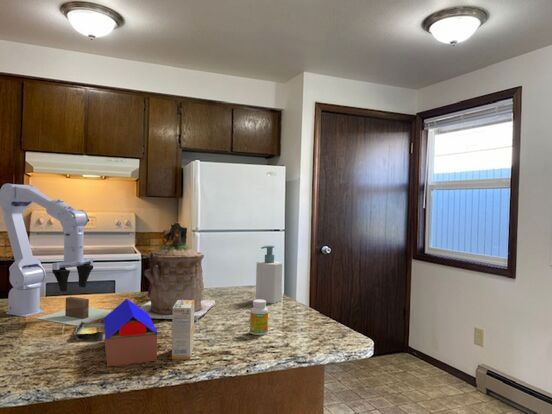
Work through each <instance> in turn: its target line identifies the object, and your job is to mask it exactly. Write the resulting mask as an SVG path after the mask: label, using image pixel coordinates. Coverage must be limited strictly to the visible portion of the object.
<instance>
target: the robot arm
mask: <svg viewBox="0 0 552 414" xmlns="http://www.w3.org/2000/svg"><path fill="white" fill-rule="evenodd" d="M64 201H65V200H63V199H61V198H60V199H59V198H58V199H57V198H56V199H52V198H50V197H49V196H47V195H46V194H45V193H43V192H41V191H40V190H39V188H38V187H36V186H34V185H33V184H15V183H14V184H13V183H4V184H2V186H1V188H0V206H1V210H2V211H1V212H2V217H3V220H4V225H5V228H6V232H7V236H8V240H9V242H10V247H11V251H12V255H13V258H14V262H13V263H12V264H11V265H10V266H9V268H8V270H9V283H10V284H11V286H12V288H11V289H10V290H9V292H8V298H7V299H8V303H7V304H8V305H7V308H8V311H6V312H5V314H6V315H13V316H18V317H23V318H25V317H26V318H27V317H30V316H34V315H38V314H42V313H46V311H47V310H45V309H41V305H40V304H41V303H40V302H41V286H42V285H43V283H44V282H45V280H46V277H47V273H46V270H45V268H44V267H43V265H42V263H41V260H39V259H38V258H36V257H35V256H34V255H33V251H32V248H31V244H30V240H29V236H28V233H27V229H26V225H25V222H24V218H23V217H24V216H23V212H24V211H26V210H27V208H29V207H30V205H31V204H32V203H34V204H36V205H38V206H40V207H42V208H44V209H45V211H46V213H47V215H49V216H50V217H52V218H54V219H56V221H59V222H60V223H59V224H60V225H61V227H62V232H63V236H64V237H63V260H62V261H61V260H60V261H57V262H53V263H52V265H51V270H52V271H51V272H52V273H53V275H54V277H55V278H56V281H57V285H58V288H59V292H63V293H64V292H67V290H68V280H69V277H70V276H69V275H70V274H71V270H70V269H67V268H74V267H76V270H77V276H78V287H79V288H86V287H87V286H86V285H87V283H88V282H87V281H88V279H89V276H90V274H91V272H92V271H93V269H94V265H93V264H94V258H91V257H87V258H84V240H85V239H84V237H85V236H84V232H85V230H84V229H85V226H87V224H88V221H89V216H88V213H87V212H86V211H84V209H76V208H75V207H74V206H73V205H69V204H67V203H65V202H64Z"/></svg>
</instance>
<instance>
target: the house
mask: <svg viewBox="0 0 552 414" xmlns="http://www.w3.org/2000/svg"><path fill="white" fill-rule="evenodd" d="M139 307H140V306H138V305H136V304H135V303H133V301H131V300H130V299H129V298H126V299H124V300H123V301H122V302H121V303H120V304H119V305H118V306H116V307H115V308H114V309H113V310H111V311H112V312H110V313H109V314H108V315H107V316H106V317H105V318H103V323H104V325H105V328H104V332H105V338H104V347H105V348H104V349H105V358H106V366H107V367H115V366H122V365H133V364H139V363H141V364H142V363H147V362H157V360H158V359H157V355H158V336H159V335H160V334H159V333H158V331H157V328H156V327H155V324H154V323H153V321H152V318H150V316H149V314H147V313H146V312H145V311H143V310H142V309H141V308H139Z"/></svg>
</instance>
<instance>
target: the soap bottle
mask: <svg viewBox="0 0 552 414" xmlns="http://www.w3.org/2000/svg"><path fill="white" fill-rule="evenodd" d="M260 248H261V249H266V254H264V260H261V261H257V262H256V267H255V268H256V269H255V270H256V271H255V277H256V278H255V300H257V299H261V300H266V304H277V303H280V302H282V293H283V291H282V290H283V289H282V287H283V286H282V285H283V283H282V282H283V262H281V261H277V260H275V254H273V253H274V252H273V248H274V249H275V246H274V245H263V246H262V247H260Z"/></svg>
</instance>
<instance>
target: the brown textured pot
mask: <svg viewBox="0 0 552 414" xmlns="http://www.w3.org/2000/svg"><path fill="white" fill-rule="evenodd" d="M170 227H171V228H166V229H164V230H163V231H162V238H163V239H165V240H166V241H165V242H164V244H163V245H162V246H160V247H159V248H158V249H157V250H156V251H151V252H150V255H149V259H148V260H149V263H150V265H149V269H145V270H144V276H145V277H146V278H147V280H148V281H149V286H148V291H147V297H148V298H149V301H148V302H146V303H143V304H142V305H140V306H138V307H139V308H141V309H142V310H143V311H145V312H146V313H147V314H149V316H150V318H151V319H162V320H163V319H164V320H172V318H173V307H174V305H175V303H176V302H177V300H194V322H199V319H200V318H202V317H203V316H204V315H205V314H206V313H207V312H208V311H209V310H210V309H211V308H213V307H214V306H215V302H216V301H215V300H212V299H211V300H209V299H207V300H202V297H203V293H204V288H205V287H204V285H205V283H204V276H203V266H202V261H203V259H204V257H205V254H204V253H203V252H201V251H196V250H194V249H192V248H190V247H189V245H187V238H188V237H187V233H188V227H186V226H184V225H181V224H180V221H179V222H178V221H176V222H175V223H171V224H170Z"/></svg>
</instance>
